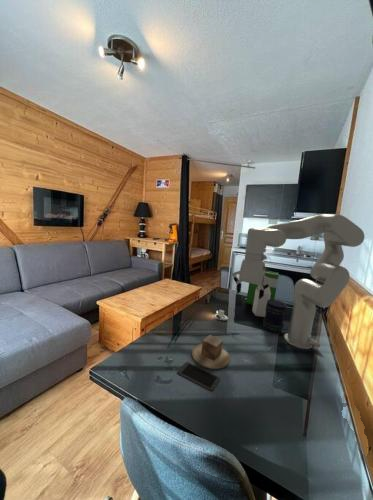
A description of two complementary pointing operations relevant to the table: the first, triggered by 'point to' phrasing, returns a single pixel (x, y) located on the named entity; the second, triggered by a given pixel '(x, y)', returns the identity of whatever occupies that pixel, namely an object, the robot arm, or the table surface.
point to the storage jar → (274, 316)
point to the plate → (206, 362)
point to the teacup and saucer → (221, 315)
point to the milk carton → (261, 302)
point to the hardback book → (273, 285)
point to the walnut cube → (211, 347)
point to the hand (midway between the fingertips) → (249, 295)
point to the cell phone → (199, 376)
